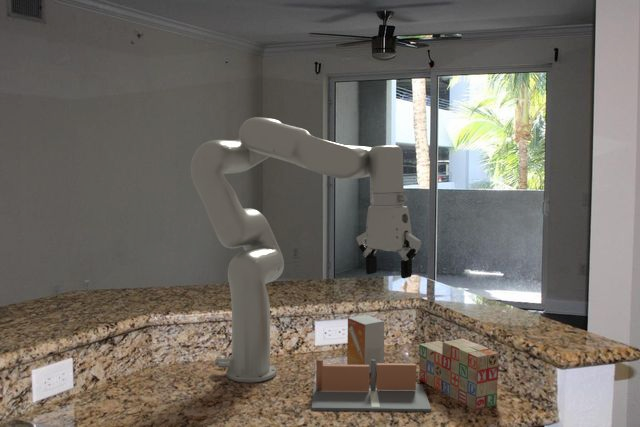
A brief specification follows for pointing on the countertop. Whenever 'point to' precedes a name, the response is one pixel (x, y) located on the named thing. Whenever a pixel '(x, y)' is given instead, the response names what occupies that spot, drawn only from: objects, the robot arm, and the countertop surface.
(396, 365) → the hinged fence panel
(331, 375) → the fixed fence panel
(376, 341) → the small box
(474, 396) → the stack of blocks
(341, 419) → the countertop surface
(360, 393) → the board
